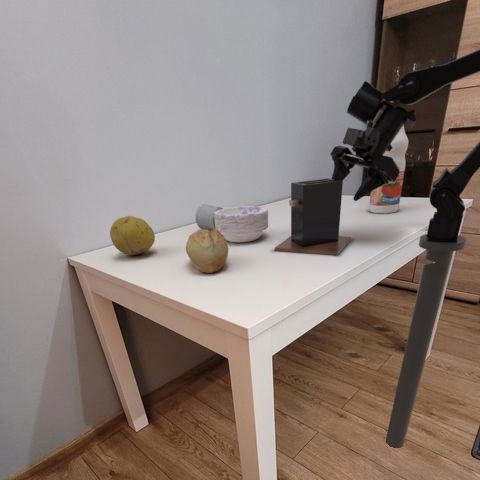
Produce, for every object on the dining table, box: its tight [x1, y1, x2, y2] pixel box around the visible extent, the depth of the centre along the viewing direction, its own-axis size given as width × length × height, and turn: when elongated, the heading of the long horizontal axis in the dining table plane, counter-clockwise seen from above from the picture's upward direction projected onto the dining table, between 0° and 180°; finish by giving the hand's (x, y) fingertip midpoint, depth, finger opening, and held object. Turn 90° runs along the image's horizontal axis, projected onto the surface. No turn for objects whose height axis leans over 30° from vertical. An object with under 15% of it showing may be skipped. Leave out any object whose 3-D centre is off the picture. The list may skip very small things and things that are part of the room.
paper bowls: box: [214, 205, 269, 243], centre depth 97 cm, size 15×15×8 cm
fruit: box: [109, 215, 156, 256], centre depth 91 cm, size 11×12×10 cm
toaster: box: [288, 177, 344, 247], centre depth 84 cm, size 12×7×14 cm, turn 106°
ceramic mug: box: [195, 203, 224, 231], centre depth 110 cm, size 11×8×8 cm
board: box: [274, 235, 352, 256], centre depth 88 cm, size 16×14×1 cm
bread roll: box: [185, 228, 229, 274], centre depth 79 cm, size 10×15×8 cm, turn 17°
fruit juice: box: [368, 124, 409, 214], centre depth 108 cm, size 9×9×28 cm
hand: (341, 195), depth 85 cm, fingers open, 9 cm apart
